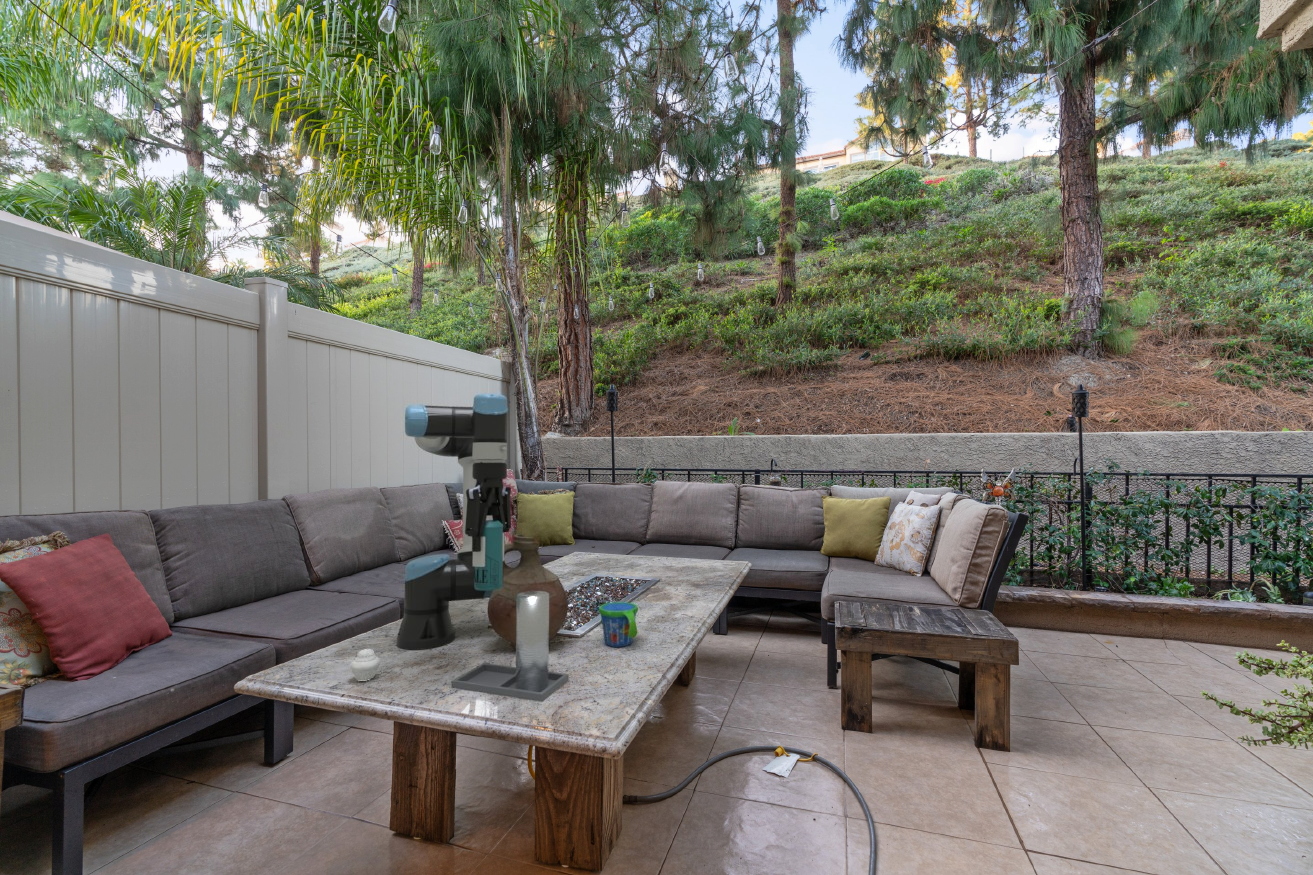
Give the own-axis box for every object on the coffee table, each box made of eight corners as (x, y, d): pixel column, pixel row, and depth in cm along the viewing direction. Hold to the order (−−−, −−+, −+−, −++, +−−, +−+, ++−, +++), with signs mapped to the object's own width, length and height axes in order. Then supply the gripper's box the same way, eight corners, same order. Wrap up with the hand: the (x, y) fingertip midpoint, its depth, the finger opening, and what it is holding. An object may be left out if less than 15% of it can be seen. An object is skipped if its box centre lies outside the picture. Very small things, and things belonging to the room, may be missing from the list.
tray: (483, 673, 133) (483, 662, 133) (568, 684, 126) (568, 674, 126) (451, 692, 122) (451, 680, 122) (542, 706, 115) (542, 694, 115)
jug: (568, 655, 144) (569, 538, 146) (481, 660, 140) (483, 540, 142) (566, 632, 165) (567, 529, 167) (491, 635, 162) (493, 531, 163)
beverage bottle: (506, 591, 130) (507, 504, 131) (498, 597, 123) (500, 506, 124) (478, 591, 130) (479, 504, 131) (469, 597, 123) (470, 506, 124)
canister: (526, 679, 127) (527, 589, 128) (554, 682, 125) (554, 592, 125) (509, 691, 120) (510, 596, 121) (538, 695, 118) (538, 599, 119)
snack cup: (590, 638, 159) (590, 602, 159) (623, 633, 164) (623, 597, 164) (612, 655, 145) (612, 615, 146) (648, 648, 150) (648, 610, 151)
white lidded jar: (381, 672, 133) (381, 643, 134) (378, 682, 128) (379, 651, 128) (351, 676, 131) (352, 646, 131) (347, 686, 125) (348, 654, 126)
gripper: (476, 461, 118) (475, 572, 116) (527, 461, 136) (526, 557, 135) (447, 461, 120) (445, 570, 119) (500, 462, 138) (500, 556, 137)
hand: (488, 563), depth 127 cm, fingers closed on beverage bottle, 6 cm apart
